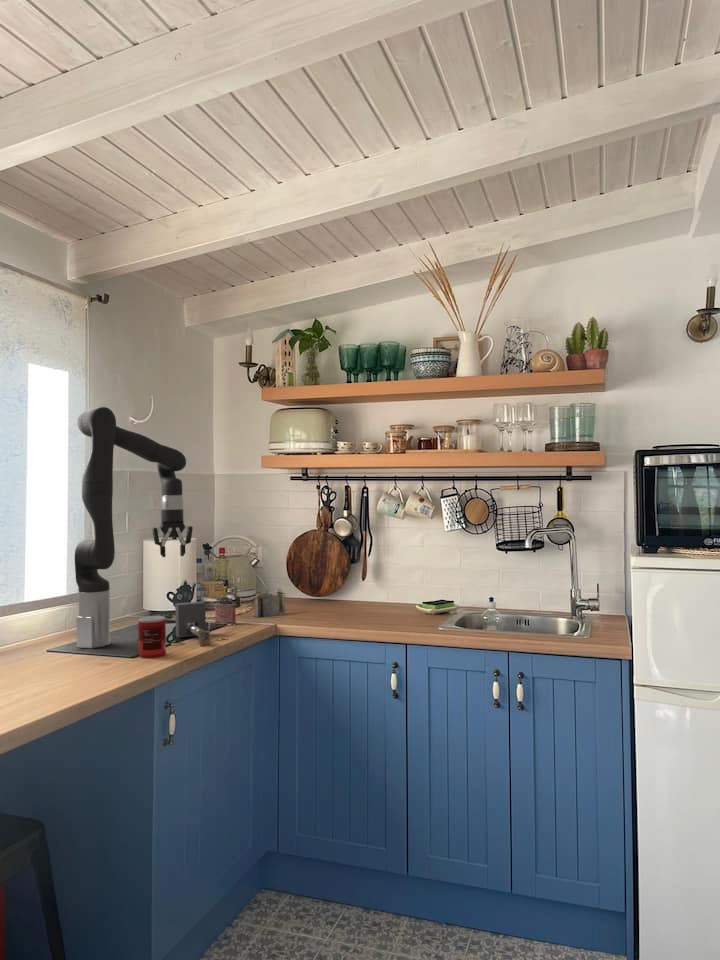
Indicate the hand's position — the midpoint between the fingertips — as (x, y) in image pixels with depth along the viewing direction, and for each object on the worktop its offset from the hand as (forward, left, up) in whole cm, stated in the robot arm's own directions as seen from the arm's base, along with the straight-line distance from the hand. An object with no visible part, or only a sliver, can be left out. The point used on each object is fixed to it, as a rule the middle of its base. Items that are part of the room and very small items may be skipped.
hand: (173, 556), depth 258 cm
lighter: (+14, -12, -26) cm, 32 cm away
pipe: (-12, -18, -26) cm, 33 cm away
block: (-9, -13, -26) cm, 30 cm away
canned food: (-36, -19, -26) cm, 48 cm away
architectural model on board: (+36, -18, -26) cm, 48 cm away
